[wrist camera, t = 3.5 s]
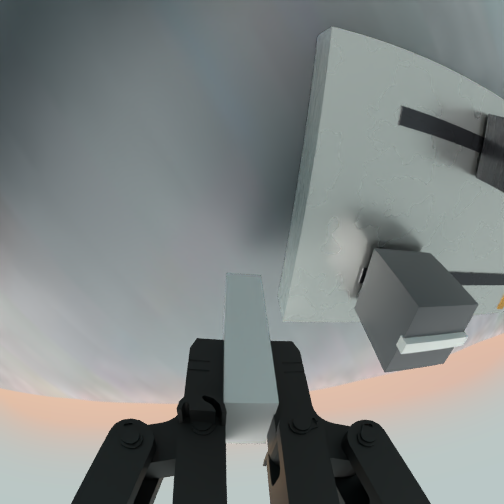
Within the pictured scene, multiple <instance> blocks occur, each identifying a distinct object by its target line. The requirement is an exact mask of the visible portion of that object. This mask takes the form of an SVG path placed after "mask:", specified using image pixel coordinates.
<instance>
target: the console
mask: <svg viewBox="0 0 504 504" xmlns="http://www.w3.org/2000/svg"><path fill="white" fill-rule="evenodd" d="M374 248H377V249H389V250H401V251H413V252H425V253H431V254H432V255H433V256H434V257H435V258H436V259H437V260H438V261H439V262H440V263H441V264H442V265H443V266H444V267H445V268H446V269H447V270H448V271H449V272H450V273H451V274H452V276H453V277H454V278H455V279H456V280H457V281H458V282H459V283H460V284H461V285H462V286H463V287H464V288H465V290H466V291H467V292H468V293H469V294H470V295H471V296H472V297H473V298H474V300H475V301H476V302H477V303H478V304H479V305H478V307H477V308H476V310H475V312H474V314H473V315H481V314H491V313H500V312H504V99H502V98H501V97H499V96H498V95H496V94H494V93H493V92H491V91H490V90H488V89H486V88H484V87H483V86H481V85H479V84H478V83H476V82H474V81H472V80H470V79H468V78H467V77H465V76H463V75H461V74H459V73H457V72H455V71H453V70H451V69H449V68H447V67H445V66H443V65H441V64H439V63H436V62H434V61H432V60H430V59H427V58H425V57H423V56H420V55H418V54H416V53H413V52H411V51H408V50H406V49H403V48H400V47H398V46H395V45H392V44H390V43H387V42H384V41H381V40H378V39H375V38H372V37H368V36H365V35H362V34H359V33H355V32H352V31H348V30H344V29H340V28H336V27H330V28H329V29H327V30H326V31H324V32H323V33H321V34H319V35H318V36H317V44H316V53H315V61H314V69H313V77H312V85H311V93H310V100H309V108H308V115H307V122H306V129H305V136H304V143H303V150H302V157H301V163H300V170H299V176H298V182H297V189H296V195H295V201H294V207H293V213H292V219H291V225H290V231H289V237H288V242H287V248H286V254H285V259H284V265H283V270H282V276H281V281H280V286H279V292H278V301H279V305H280V310H281V315H282V320H283V322H361V321H360V319H359V317H358V315H357V313H356V311H355V309H354V308H355V305H356V302H357V299H358V296H359V294H360V291H361V288H362V285H363V282H364V279H365V276H366V273H367V270H368V267H369V264H370V261H371V257H372V254H373V251H374Z"/></svg>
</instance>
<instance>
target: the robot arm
mask: <svg viewBox="0 0 504 504" xmlns="http://www.w3.org/2000/svg"><path fill="white" fill-rule="evenodd" d="M177 413H178V415H177V416H176V417H175V418H173V419H171V420H170V421H167V422H163V423H158V424H151V425H147V424H145V423H143V422H142V421H140V420H136V419H125V420H121V421H119V422H118V423H116V424H115V425H114V426H113V427H112V428H111V430H110V431H109V433H108V435H107V437H106V439H105V441H104V443H103V444H102V446H101V448H100V450H99V452H98V453H97V455H96V457H95V459H94V461H93V463H92V465H91V467H90V469H89V470H88V472H87V474H86V476H85V478H84V480H83V482H82V484H81V486H80V488H79V489H78V491H77V493H76V495H75V497H74V499H73V501H72V503H71V504H153V503H154V500H155V498H156V495H157V492H158V490H159V488H160V485H161V482H162V480H163V478H164V477H170V476H174V489H173V504H227V486H226V443H236V444H238V443H239V444H260V443H261V444H262V443H266V440H267V442H268V452H267V454H266V457H265V459H264V464H263V466H266V465H267V472H268V483H269V492H270V504H431V503H430V502H429V500H428V498H427V497H426V495H425V494H424V492H423V491H422V489H421V487H420V486H419V484H418V482H417V481H416V479H415V478H414V476H413V474H412V473H411V471H410V470H409V468H408V467H407V465H406V463H405V462H404V460H403V459H402V457H401V456H400V454H399V452H398V451H397V449H396V448H395V446H394V445H393V443H392V442H391V440H390V438H389V437H388V435H387V434H386V432H385V431H384V429H383V428H382V427H381V426H380V425H379V424H377V423H375V422H373V421H370V420H361V421H357V422H355V423H354V424H352V425H351V426H345V425H339V424H334V423H330V422H327V421H325V420H324V419H322V418H321V417H319V416H318V415H317V414H316V412H315V411H314V409H313V406H312V403H311V398H310V394H309V389H308V385H307V381H306V376H305V374H304V367H303V364H302V359H301V354H300V351H299V350H298V348H297V347H296V346H295V344H294V343H293V342H292V341H270V336H269V329H268V322H267V315H266V308H265V301H264V294H263V287H262V280H261V275H250V274H233V273H226V286H225V301H224V316H223V340H215V339H200V338H197V339H196V340H195V342H194V343H193V345H192V346H191V347H190V353H189V362H188V368H187V377H186V385H185V394H184V397H183V398H182V399H181V400H180V401H179V404H178V407H177Z"/></svg>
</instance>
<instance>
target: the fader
mask: <svg viewBox="0 0 504 504" xmlns="http://www.w3.org/2000/svg"><path fill="white" fill-rule="evenodd" d="M478 305H479V304H478V303H477V302H476V301H475V300H474V298H473V297H472V296H471V295H470V294H469V293H468V292H467V291H466V290H465V288H464V287H463V286H462V285H461V284H460V283H459V282H458V281H457V280H456V279H455V278H454V277H453V276H452V274H451V273H450V272H449V271H448V270H447V269H446V268H445V267H444V266H443V265H442V264H441V263H440V262H439V261H438V260H437V259H436V258H435V257H434V256H433V255H432V254H431V253H425V252H413V251H401V250H389V249H377V248H374V251H373V254H372V257H371V261H370V264H369V267H368V270H367V273H366V276H365V279H364V282H363V285H362V288H361V291H360V294H359V296H358V299H357V302H356V305H355V308H354V309H355V311H356V313H357V315H358V317H359V319H360V321H361V323H362V325H363V327H364V329H365V331H366V334H367V336H368V338H369V340H370V342H371V344H372V346H373V348H374V350H375V353H376V355H377V357H378V359H379V361H380V363H381V366H382V368H383V370H384V372H392V371H400V370H407V369H413V368H420V367H426V366H432V365H437V364H443V363H444V362H445V360H446V359H447V358H448V356H449V354H450V353H451V351H452V350H453V348H454V347H457V346H463V344H464V342H465V341H466V339H467V337H468V336H467V335H466V333H465V332H464V330H465V328H466V327H467V325H468V323H469V321H470V319H471V318H472V316H473V314H474V312H475V310H476V308H477V307H478Z"/></svg>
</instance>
